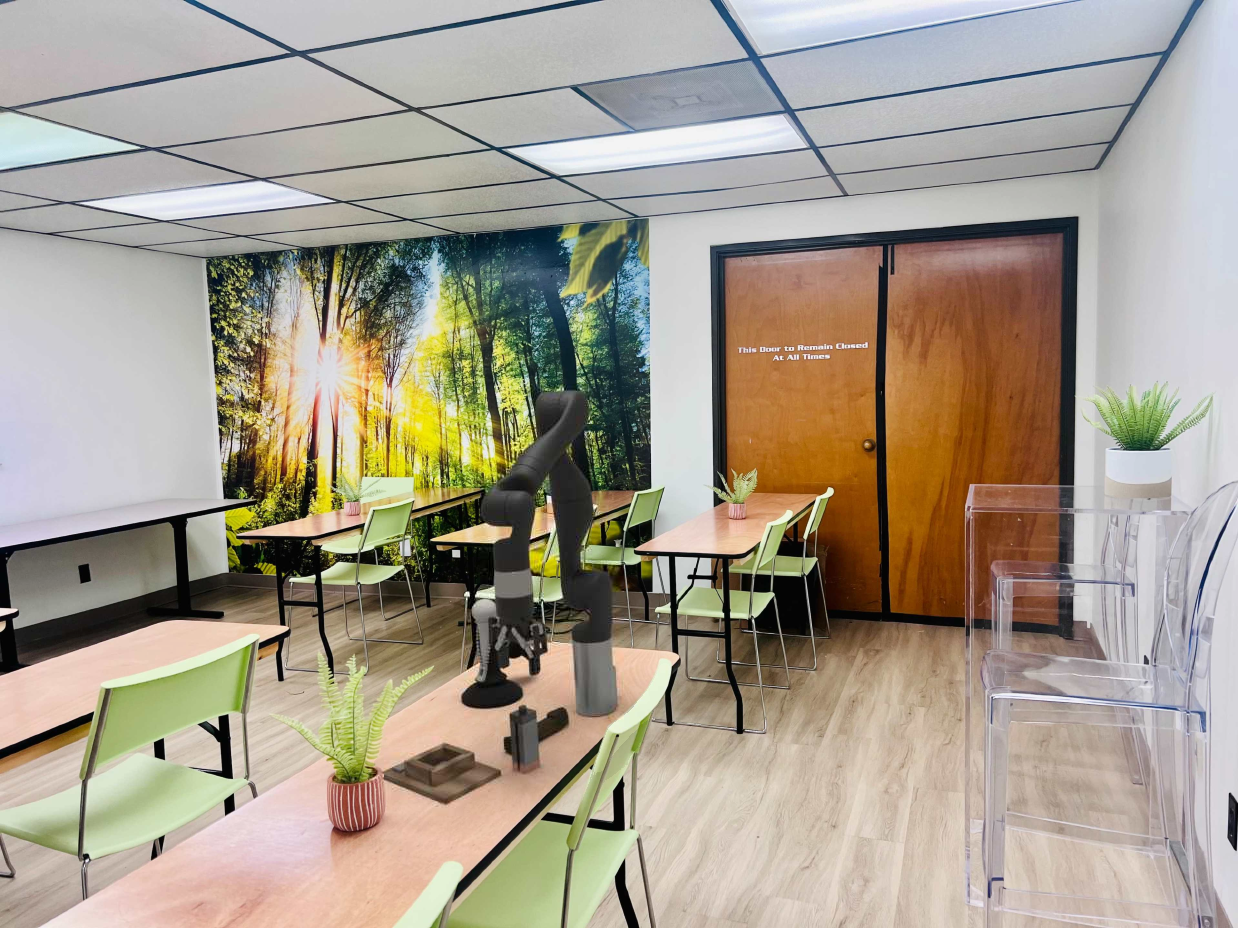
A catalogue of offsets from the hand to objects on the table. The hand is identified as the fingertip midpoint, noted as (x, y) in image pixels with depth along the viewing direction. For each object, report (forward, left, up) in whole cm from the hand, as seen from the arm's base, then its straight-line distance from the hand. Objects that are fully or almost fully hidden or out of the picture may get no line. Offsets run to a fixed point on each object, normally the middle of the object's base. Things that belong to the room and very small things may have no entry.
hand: (519, 670), depth 169 cm
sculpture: (-28, -36, -20) cm, 50 cm away
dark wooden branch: (-12, -8, -20) cm, 25 cm away
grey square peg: (0, 0, -20) cm, 20 cm away
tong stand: (+12, -12, -20) cm, 26 cm away
